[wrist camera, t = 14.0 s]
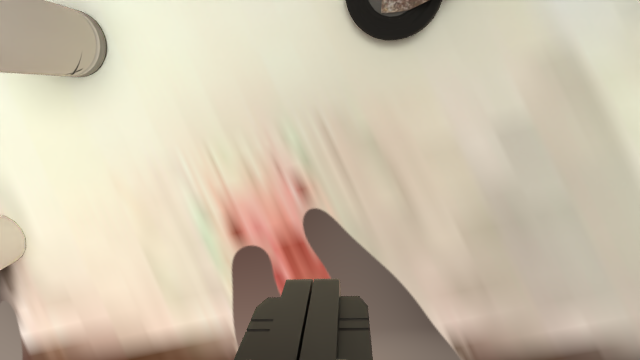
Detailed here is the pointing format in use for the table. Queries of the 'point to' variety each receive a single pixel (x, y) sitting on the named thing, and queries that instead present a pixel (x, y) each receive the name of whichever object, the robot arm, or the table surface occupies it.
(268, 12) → the table surface
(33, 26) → the travel mug
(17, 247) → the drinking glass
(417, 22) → the caster wheel
